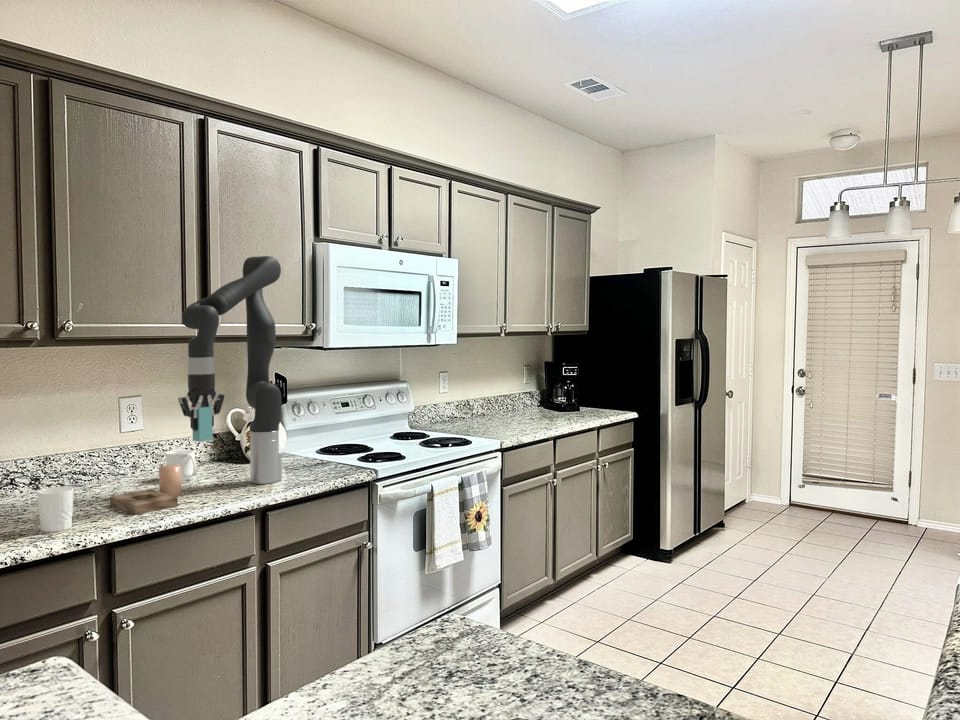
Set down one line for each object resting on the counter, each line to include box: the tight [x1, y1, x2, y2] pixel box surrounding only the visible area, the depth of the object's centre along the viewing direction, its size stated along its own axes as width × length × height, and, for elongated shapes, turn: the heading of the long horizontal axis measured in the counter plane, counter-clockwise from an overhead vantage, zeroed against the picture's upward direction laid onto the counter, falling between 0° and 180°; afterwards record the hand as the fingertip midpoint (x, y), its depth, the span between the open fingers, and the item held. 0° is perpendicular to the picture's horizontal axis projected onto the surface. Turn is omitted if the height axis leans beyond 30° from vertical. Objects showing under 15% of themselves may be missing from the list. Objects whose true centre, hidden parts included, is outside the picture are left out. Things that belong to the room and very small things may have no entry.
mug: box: [165, 449, 198, 482], centre depth 235 cm, size 12×9×9 cm
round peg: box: [158, 464, 183, 497], centre depth 212 cm, size 6×6×9 cm
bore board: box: [109, 489, 179, 516], centre depth 200 cm, size 12×16×2 cm
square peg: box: [192, 406, 213, 443], centre depth 207 cm, size 4×4×10 cm
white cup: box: [36, 486, 74, 533], centre depth 176 cm, size 8×8×10 cm
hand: (202, 429), depth 207 cm, fingers closed on square peg, 4 cm apart
